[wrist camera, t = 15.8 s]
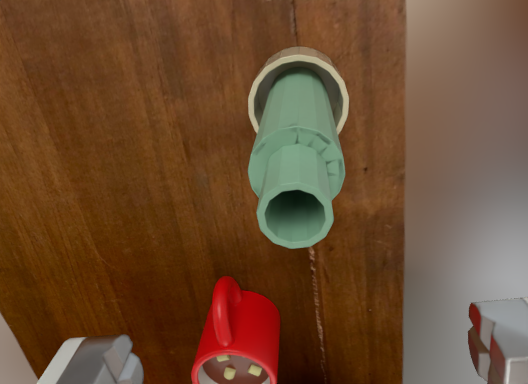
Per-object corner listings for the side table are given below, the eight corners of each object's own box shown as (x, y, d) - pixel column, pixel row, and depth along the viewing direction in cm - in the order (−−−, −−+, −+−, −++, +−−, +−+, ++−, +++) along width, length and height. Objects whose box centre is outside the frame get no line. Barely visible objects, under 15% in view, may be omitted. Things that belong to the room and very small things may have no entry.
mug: (261, 252, 40) (253, 309, 33) (287, 341, 45) (285, 406, 38) (186, 264, 41) (163, 321, 34) (219, 348, 46) (205, 413, 39)
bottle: (265, 72, 31) (224, 171, 14) (322, 61, 31) (348, 153, 14) (275, 126, 33) (249, 270, 16) (329, 117, 33) (360, 258, 16)
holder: (246, 56, 32) (238, 66, 28) (337, 38, 30) (343, 45, 26) (263, 140, 35) (258, 160, 31) (347, 127, 33) (353, 146, 29)
